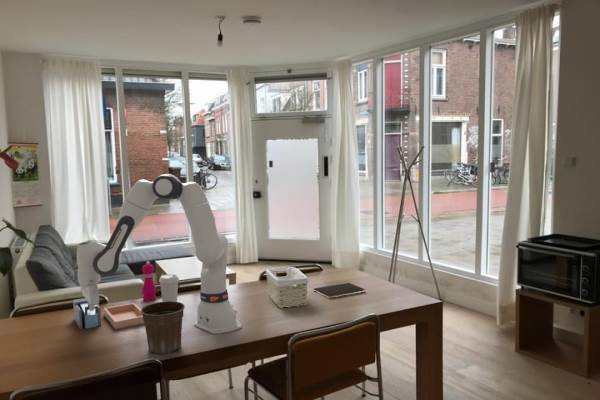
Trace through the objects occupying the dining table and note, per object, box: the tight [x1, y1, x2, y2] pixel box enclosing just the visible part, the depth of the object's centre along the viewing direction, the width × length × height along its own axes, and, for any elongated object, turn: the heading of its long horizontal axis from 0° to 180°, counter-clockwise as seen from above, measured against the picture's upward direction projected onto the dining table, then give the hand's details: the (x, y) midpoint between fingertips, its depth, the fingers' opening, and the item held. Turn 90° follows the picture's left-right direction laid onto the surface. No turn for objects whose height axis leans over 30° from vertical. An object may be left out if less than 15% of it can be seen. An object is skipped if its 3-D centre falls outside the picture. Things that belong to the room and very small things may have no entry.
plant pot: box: [140, 301, 186, 355], centre depth 186 cm, size 16×16×16 cm
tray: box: [103, 302, 145, 330], centre depth 219 cm, size 22×14×4 cm, turn 34°
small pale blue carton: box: [80, 303, 99, 329], centre depth 213 cm, size 12×5×10 cm, turn 34°
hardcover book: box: [313, 282, 366, 297], centre depth 260 cm, size 16×23×2 cm
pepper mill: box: [141, 260, 157, 302], centre depth 248 cm, size 7×7×20 cm
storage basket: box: [265, 266, 309, 309], centre depth 244 cm, size 24×16×15 cm
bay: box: [72, 297, 102, 330], centre depth 216 cm, size 14×9×9 cm, turn 34°
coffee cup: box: [158, 273, 180, 302], centre depth 237 cm, size 10×10×15 cm
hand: (90, 309), depth 208 cm, fingers closed on small pale blue carton
